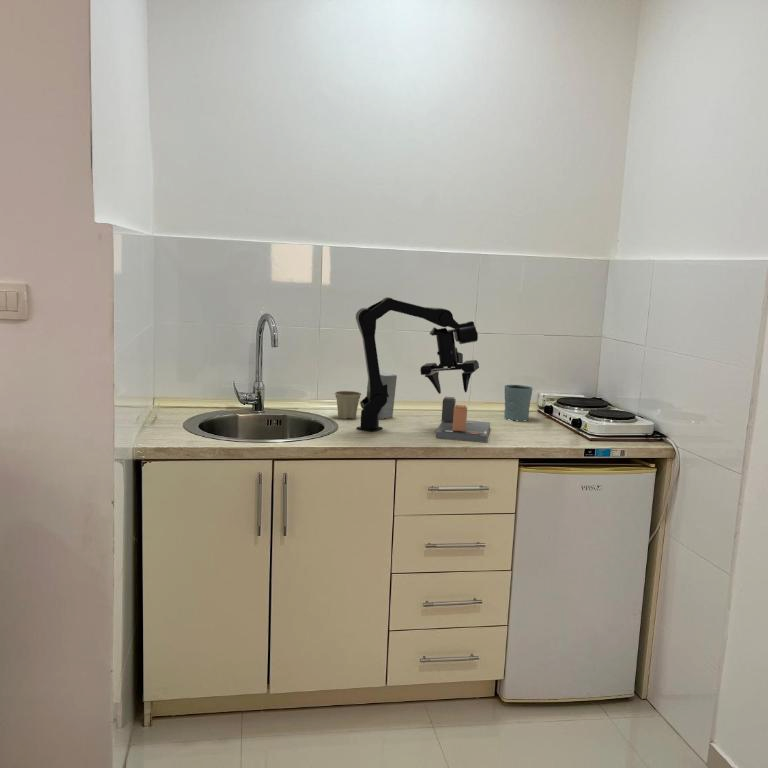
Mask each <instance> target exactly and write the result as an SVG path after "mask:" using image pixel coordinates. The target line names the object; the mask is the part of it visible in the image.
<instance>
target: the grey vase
mask: <svg viewBox="0 0 768 768" xmlns="http://www.w3.org/2000/svg"><path fill="white" fill-rule="evenodd" d="M379 371H380V370H379ZM380 378H381V381H382V382H385V383H386V384H387V392H388V395H389V397H387V403H386V404H385V405H384V406H383V407H382V408H381V410H380V413H379V420H385V419H384V418H386V419H391V418H390V417H392V418H393V415H394V408H395V407H394V405H395V398H396V397H395V396H396V388H397V379H398V375H397V374H393V373H390V372H385V371H382V370H381V371H380Z"/></svg>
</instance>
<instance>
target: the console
mask: <svg viewBox="0 0 768 768" xmlns="http://www.w3.org/2000/svg"><path fill="white" fill-rule="evenodd" d="M490 428H491V422H490V421H479V420H478V421H476V420H467V421H466V430H465V431H455V430H452V429H453V421H443V420H442V419H440V423H439V425H438V427H437V429H436V431H435V439H445V440H453V441H456V440H457V441H467V442H476V441H481V442H480V443H487V440H488V436H489V432H490Z"/></svg>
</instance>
